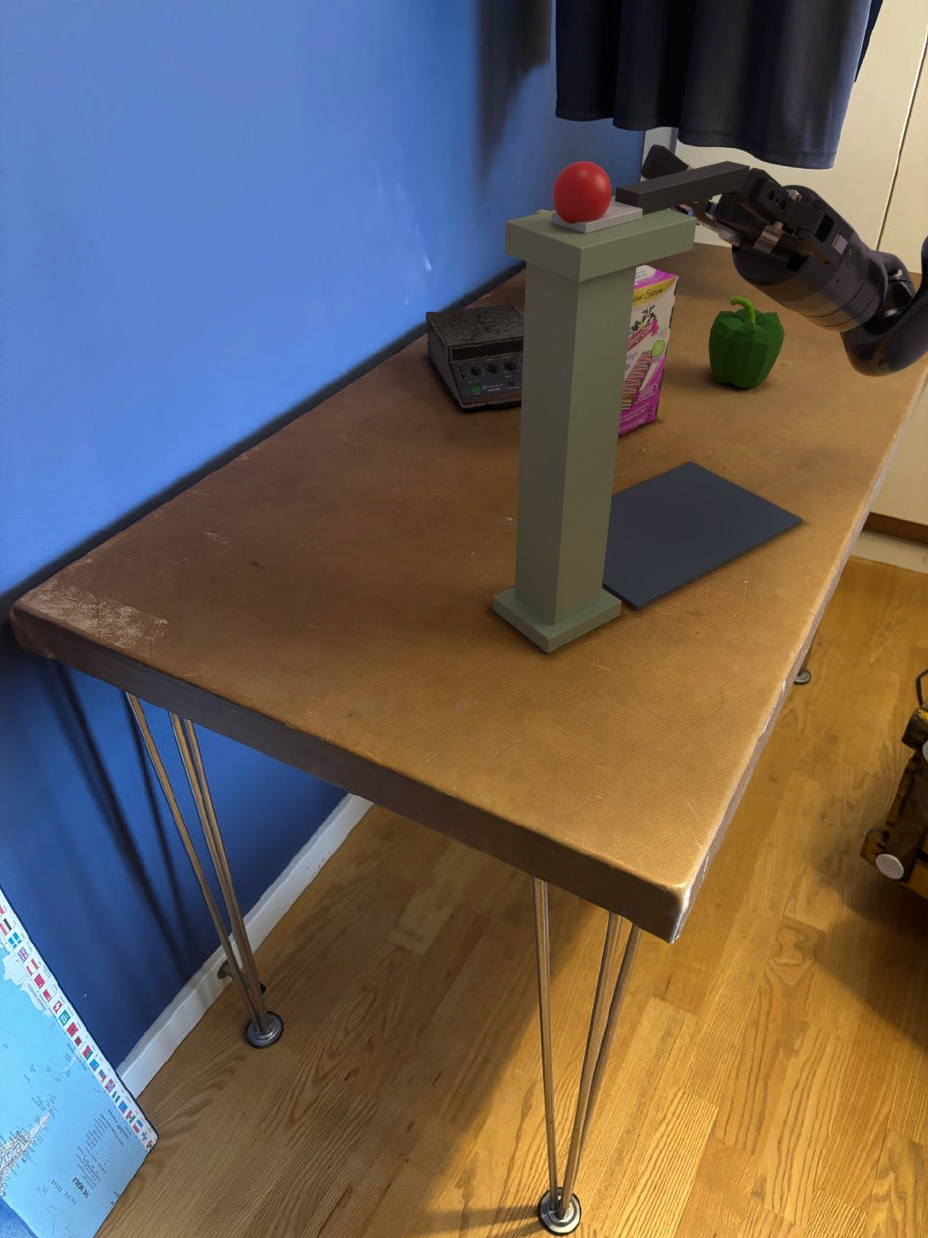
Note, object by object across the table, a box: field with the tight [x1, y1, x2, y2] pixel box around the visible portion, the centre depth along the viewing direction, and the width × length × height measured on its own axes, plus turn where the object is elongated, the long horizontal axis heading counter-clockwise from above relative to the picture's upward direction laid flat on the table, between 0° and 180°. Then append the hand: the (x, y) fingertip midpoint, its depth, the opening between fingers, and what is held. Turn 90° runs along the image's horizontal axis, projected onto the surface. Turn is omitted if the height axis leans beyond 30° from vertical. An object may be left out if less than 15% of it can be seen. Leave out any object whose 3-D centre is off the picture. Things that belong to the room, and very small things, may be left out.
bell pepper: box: [708, 295, 786, 389], centre depth 108 cm, size 8×8×10 cm
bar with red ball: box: [551, 160, 751, 234], centre depth 58 cm, size 17×4×4 cm, turn 128°
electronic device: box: [425, 301, 525, 411], centre depth 110 cm, size 12×17×6 cm
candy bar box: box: [618, 264, 680, 437], centre depth 97 cm, size 11×5×16 cm, turn 130°
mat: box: [602, 460, 803, 611], centre depth 86 cm, size 22×14×1 cm, turn 127°
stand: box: [492, 195, 697, 654], centre depth 67 cm, size 10×7×31 cm, turn 127°
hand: (696, 170), depth 60 cm, fingers open, 8 cm apart
